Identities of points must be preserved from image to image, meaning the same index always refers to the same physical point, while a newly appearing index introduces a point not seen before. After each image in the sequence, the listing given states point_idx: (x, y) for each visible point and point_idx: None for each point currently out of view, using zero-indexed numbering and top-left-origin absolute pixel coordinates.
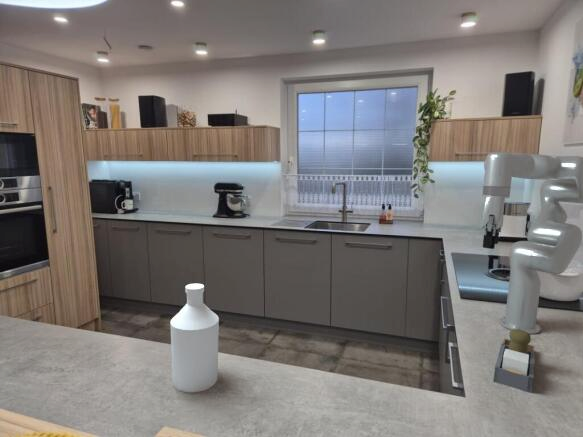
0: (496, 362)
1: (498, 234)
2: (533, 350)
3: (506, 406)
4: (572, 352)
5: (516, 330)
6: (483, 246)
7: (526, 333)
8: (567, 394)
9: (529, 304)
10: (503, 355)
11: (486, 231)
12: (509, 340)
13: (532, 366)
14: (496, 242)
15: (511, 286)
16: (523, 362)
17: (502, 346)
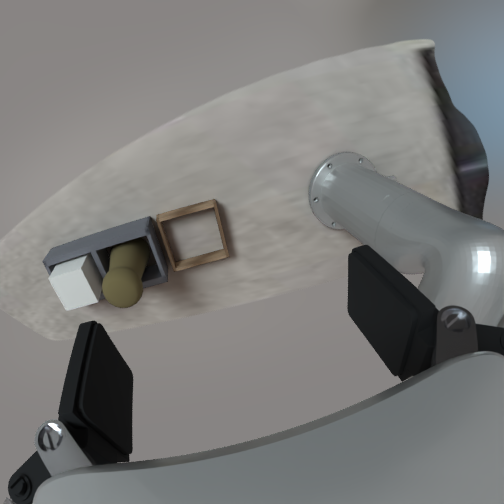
0: (59, 255)
1: (390, 366)
2: (205, 261)
3: (17, 284)
4: (283, 288)
5: (116, 289)
6: (83, 330)
7: (122, 305)
8: (118, 321)
9: (355, 236)
10: (95, 252)
11: (19, 470)
12: (216, 214)
13: (103, 296)
14: (352, 315)
15: (386, 203)
16: (63, 304)
17: (134, 234)
